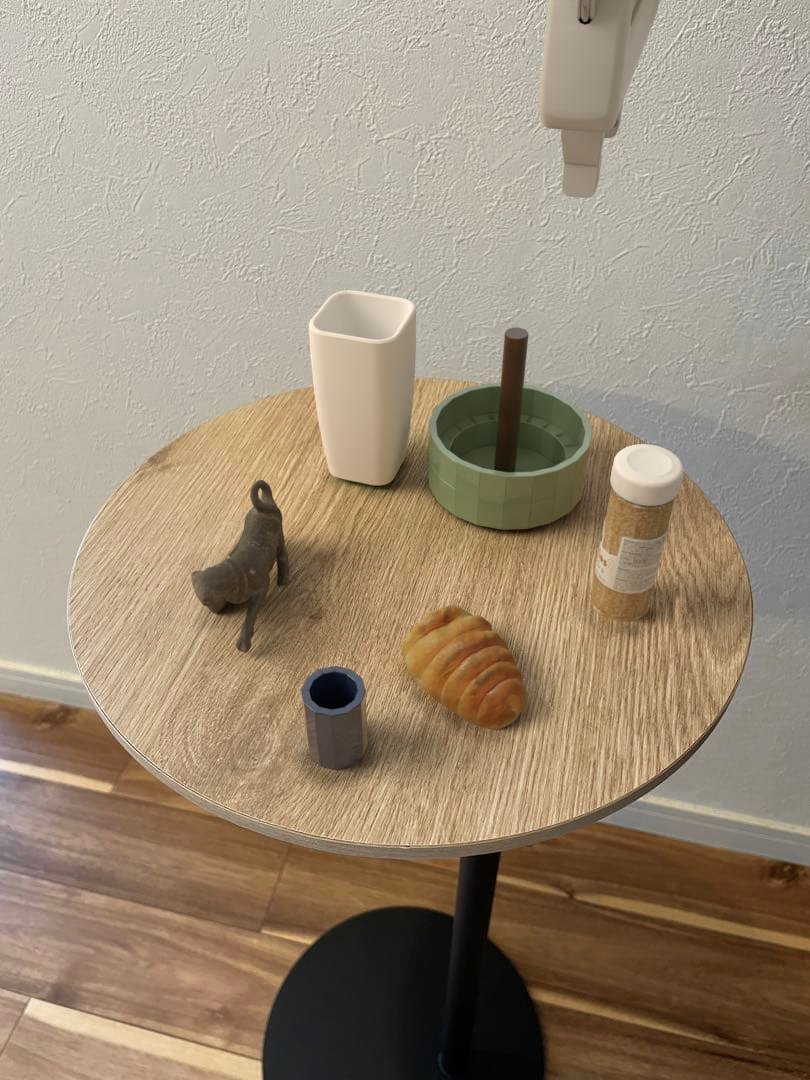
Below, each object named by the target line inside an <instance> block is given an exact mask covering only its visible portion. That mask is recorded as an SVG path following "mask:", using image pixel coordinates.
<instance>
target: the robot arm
mask: <svg viewBox="0 0 810 1080" xmlns="http://www.w3.org/2000/svg"><path fill="white" fill-rule="evenodd" d="M660 3H661V0H548V3H547V13H546V21H545V31H544V42H543V50H542V61H541V72H540V84H539V94H538V107H539V108H538V111H539V112H538V113H539V117H540V122H541V124H542V126H543V127H545V128H547V129H551V130H560V139H561V151H562V161H563V169H562V180H561V181H562V182H561V190H562V192H563V194H564V195H565V196H566V197H573V198H583V199H588V198H589V199H590V198H591V197H593V196H594V195H595V193H596V191H597V189H598V186H599V182H600V177H601V176H600V173H601V168H602V158H603V155H602V153H603V146H604V141H605V139H612V138H614V136H616V135H617V133H618V131H619V129H620V126H621V122H622V113H623V107H624V100H625V98H626V95H627V93H628V90H629V87H630V85H631V82H632V80H633V77H634V74H635V72H636V69H637V67H638V63H639V61H640V58H641V56H642V53H643V51H644V48H645V46H646V43H647V40H648V37H649V35H650V32H651V30H652V28H653V26H654V22H655V20H656V17H657V13H658V9H659V5H660Z"/></svg>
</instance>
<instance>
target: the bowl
mask: <svg viewBox="0 0 810 1080" xmlns="http://www.w3.org/2000/svg"><path fill="white" fill-rule="evenodd" d="M500 387H501V382H488V383H483V384H478V385H473V386H468V387H465V388H463V389H460V390H459V391H456V392H454V393H452V394H450V395H448V396H447V397H445V399H443V400H442V401H441V402H440V403H439V404H437V405H436V406H435V407H434V409H433V411H432V413H431V415H430V418H429V420H428V433H427V434H428V435H427V436H428V438H427V439H428V440H427V442H428V443H427V447H428V448H427V480H428V488H429V490H430V492H431V494H432V495H433V496H434V498H435V500H436V502H437V503H438V504H439V505H441V507H443V508H444V509H446V510H447V511H448V512H450V514H452V515H453V516H454V517H457V518H459V519H461V520H464V521H466V522H468V523H471V524H474V525H476V526H481V527H486V528H491V529H497V530H528V529H533V528H537V527H540V526H545V525H549V524H551V523H555V522H556V521H557V520H559V519H561V518H562V517H564V516H566V515H568V514H569V513H571V512H572V511H573V509H574V508H576V506H577V505H578V504H579V503H580V501H581V500H582V498H583V492H584V489H585V484H586V478H587V471H588V465H589V458H590V453H591V446H592V440H593V435H594V434H593V429H592V426H591V423H590V420H589V417H588V416H587V415H586V413H585V412H583V411H582V409H581V408H580V407H579V406H578V405H577V404H576V403H574V402H573V401H572V400H570V399H568V398H566V397H565V396H563V395H561V394H560V393H557V392H555V391H552V390H549V389H546V388H544V387H541V386H537V385H530V384H525V383H524V386H523V397H522V407H521V417H520V427H519V437H518V447H517V458H516V468H515V472H502V471H496V470H494V462H495V449H496V437H497V424H498V412H499V399H500Z"/></svg>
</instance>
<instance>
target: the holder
mask: <svg viewBox="0 0 810 1080" xmlns="http://www.w3.org/2000/svg"><path fill="white" fill-rule="evenodd" d="M300 694H301V702H302V703H301V704H302V713H303V721H304V730H305V739H306V740H305V741H306V747H307V751H308V756H309V757H310V758H311V759H312V761H313V762H314V763H315V764H317V765H318V766H320V767H321V768H324V769H328V770H344V769H348V768H350V767H353V766H355V765H356V764H357V763H358V762H359V761H361V760H362V758H364V756H365V754H366V752H367V748H368V746H369V738H368V736H369V735H368V717H367V716H368V712H367V690H366V686H365V682H364V680H363V678H362V677H361V676H360V675H359V674H358V673H356V672H355V671H354V670H353V669H351V668H347V667H342V666H339V665H331V666H326V667H322V668H318V669H317V670H315V671H314V672H312V673H311V674H310V675H308V676H307V677H306V679H305V680H304V683H303V685H302V687H301V690H300Z"/></svg>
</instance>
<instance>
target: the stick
mask: <svg viewBox="0 0 810 1080" xmlns="http://www.w3.org/2000/svg"><path fill="white" fill-rule="evenodd" d="M503 336H504V337H503V350H502V351H503V352H502V361H501V362H502V364H501V376H500V383H501V387H500V399H499V412H498V424H497V437H496V449H495V462H494V470H496V471H502V472H515V468H516V458H517V447H518V437H519V427H520V417H521V407H522V397H523V386H524V384H525V375H526V364H527V355H528V354H527V353H528V343H529V336H530V335H529V332H528V330H526V329H525V328H523V327H517V326H516V327H510V328H507V329H506V330H505V331H504V335H503Z"/></svg>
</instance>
